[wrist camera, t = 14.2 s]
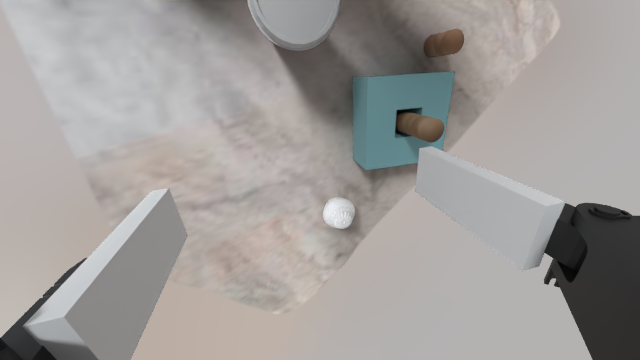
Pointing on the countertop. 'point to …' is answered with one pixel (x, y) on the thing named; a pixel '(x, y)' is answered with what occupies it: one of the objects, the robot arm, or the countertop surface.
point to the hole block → (380, 115)
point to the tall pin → (419, 126)
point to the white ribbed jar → (339, 213)
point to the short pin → (444, 43)
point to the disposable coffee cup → (295, 21)
